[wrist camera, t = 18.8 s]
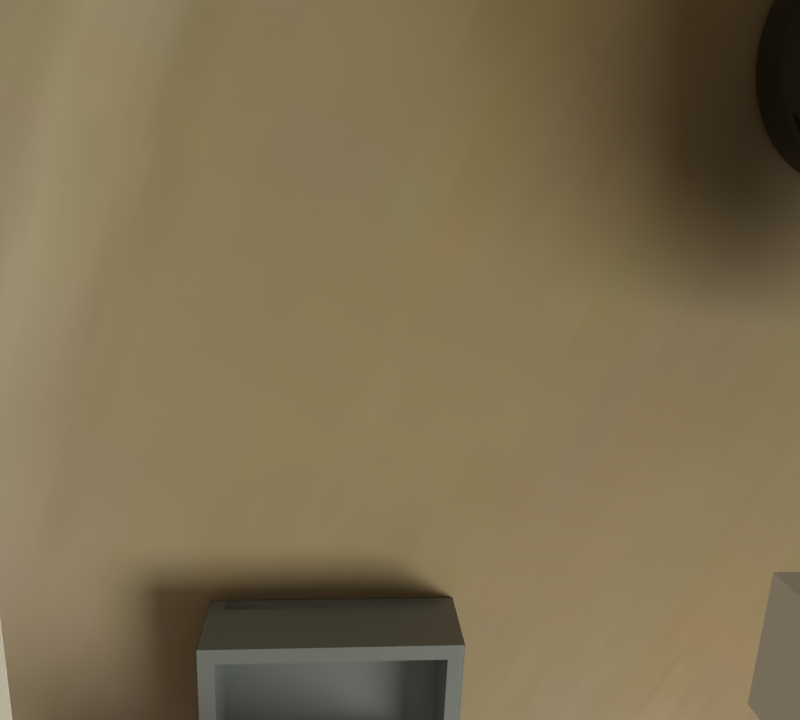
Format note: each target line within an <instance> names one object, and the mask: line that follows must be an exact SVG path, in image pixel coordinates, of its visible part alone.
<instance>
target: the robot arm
mask: <svg viewBox="0 0 800 720" xmlns="http://www.w3.org/2000/svg"><path fill="white" fill-rule="evenodd" d="M757 90H758V99H759V105H760V109H761V113H762V117H763V120H764V123H765V126H766V128H767V131H768V133H769V135H770V137H771V139H772V141H773V143H774V144H775V146H776V148H777V149H778V150H779V152H780V153H781V155H782V156H783V157H784V158H785V159H786V161H787V162H788V163H789V164H790V165H791V166H792V167H793V168H794V169H795V170H797V171H798V172H799V173H800V0H775V2H774V4H773V7H772V9H771V11H770V14H769V16H768V19H767V21H766V24H765V28H764V31H763V35H762V38H761V43H760V48H759V54H758V62H757ZM748 705H749V706H750V707H751V709H752V710H753V711H754V713H755V714H756V715H757V716H758V718H759V719H760V720H800V572H773V577H772V583H771V588H770V593H769V598H768V603H767V608H766V613H765V618H764V624H763V629H762V634H761V639H760V644H759V649H758V654H757V660H756V665H755V670H754V675H753V680H752V685H751V690H750V695H749V701H748ZM0 720H12V712H11V704H10V695H9V687H8V679H7V670H6V662H5V653H4V645H3V637H2V628H1V620H0Z"/></svg>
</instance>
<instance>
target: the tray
mask: <svg viewBox="0 0 800 720" xmlns="http://www.w3.org/2000/svg"><path fill="white" fill-rule="evenodd" d="M464 653H465V643H464V639H463V635H462V632H461V628H460V624H459V620H458V617H457V613H456V609H455V605H454V602H453V598H388V599H315V600H243V601H211V602H210V605H209V609H208V612H207V615H206V619H205V622H204V626H203V629H202V633H201V636H200V639H199V643H198V646H197V650H196V656H197V682H198V708H199V720H460V708H461V694H462V680H463V667H464Z"/></svg>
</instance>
